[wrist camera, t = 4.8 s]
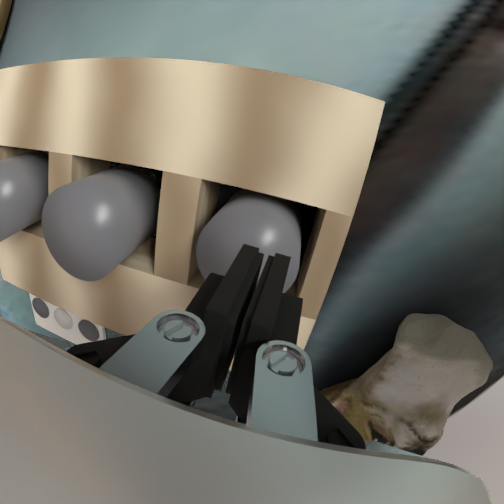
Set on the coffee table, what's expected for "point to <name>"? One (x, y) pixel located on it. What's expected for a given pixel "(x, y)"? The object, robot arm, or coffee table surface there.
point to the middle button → (100, 220)
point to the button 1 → (22, 191)
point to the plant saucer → (4, 14)
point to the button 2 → (251, 233)
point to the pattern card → (65, 323)
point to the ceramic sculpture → (414, 384)
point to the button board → (183, 168)
